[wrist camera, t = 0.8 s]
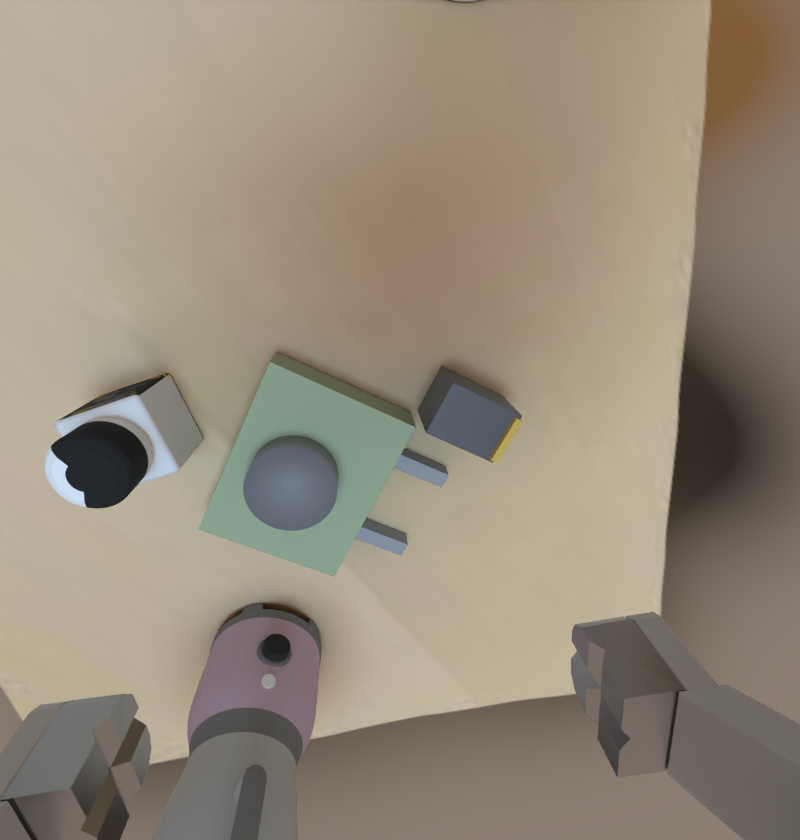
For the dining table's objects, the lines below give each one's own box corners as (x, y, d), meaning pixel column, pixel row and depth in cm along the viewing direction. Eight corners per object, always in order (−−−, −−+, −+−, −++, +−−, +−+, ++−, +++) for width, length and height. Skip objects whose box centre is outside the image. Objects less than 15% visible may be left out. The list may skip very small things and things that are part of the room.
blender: (302, 691, 58) (246, 1163, 28) (203, 670, 56) (26, 1165, 26) (346, 593, 53) (335, 1034, 24) (240, 565, 51) (77, 1021, 21)
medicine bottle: (170, 371, 43) (104, 416, 32) (205, 439, 45) (156, 502, 34) (97, 396, 43) (7, 449, 32) (136, 461, 46) (65, 532, 34)
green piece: (276, 351, 43) (263, 370, 37) (462, 436, 48) (479, 466, 41) (210, 507, 48) (187, 548, 42) (384, 569, 53) (388, 615, 46)
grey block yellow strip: (441, 365, 45) (455, 384, 39) (502, 395, 47) (524, 418, 41) (417, 409, 46) (426, 435, 40) (477, 437, 48) (494, 465, 42)
